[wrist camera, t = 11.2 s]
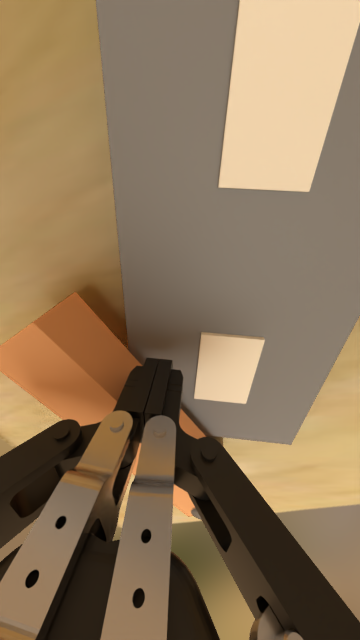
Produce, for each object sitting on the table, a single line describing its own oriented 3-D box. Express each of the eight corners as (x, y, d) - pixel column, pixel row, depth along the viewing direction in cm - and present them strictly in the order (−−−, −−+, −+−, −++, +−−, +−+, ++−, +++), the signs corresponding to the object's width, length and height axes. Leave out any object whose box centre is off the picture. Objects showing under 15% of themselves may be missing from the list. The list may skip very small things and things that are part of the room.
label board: (106, -36, 8) (76, -112, 6) (508, -40, 7) (620, -127, 5) (141, 440, 23) (136, 461, 21) (272, 455, 22) (279, 478, 20)
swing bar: (235, 468, 20) (241, 518, 17) (198, 477, 21) (197, 523, 18) (75, 291, 12) (32, 322, 9) (32, 322, 13) (-17, 357, 10)
